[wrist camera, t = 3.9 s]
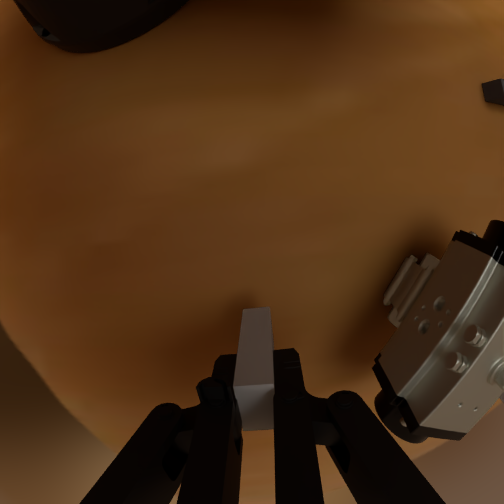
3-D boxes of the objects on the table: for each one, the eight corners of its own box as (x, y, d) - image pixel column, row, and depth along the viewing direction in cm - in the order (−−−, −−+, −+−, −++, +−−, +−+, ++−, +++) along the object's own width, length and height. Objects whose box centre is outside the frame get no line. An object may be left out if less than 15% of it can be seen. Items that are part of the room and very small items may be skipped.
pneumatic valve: (465, 230, 18) (584, 286, 7) (387, 356, 21) (448, 470, 10) (418, 191, 18) (556, 229, 6) (333, 333, 21) (382, 469, 9)
